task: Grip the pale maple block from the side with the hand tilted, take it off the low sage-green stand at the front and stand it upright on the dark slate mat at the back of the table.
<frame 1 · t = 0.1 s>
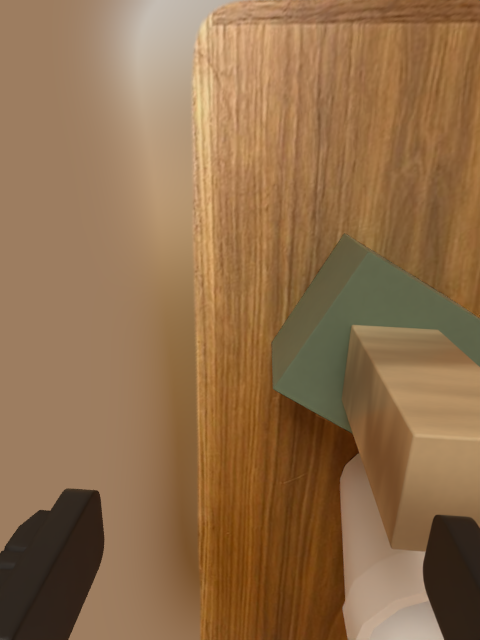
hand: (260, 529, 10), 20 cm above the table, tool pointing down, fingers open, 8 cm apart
foam cup: (379, 479, 34), on the table
block: (388, 365, 23), point 7 cm above the table, touching stand
stand: (360, 323, 29), on the table
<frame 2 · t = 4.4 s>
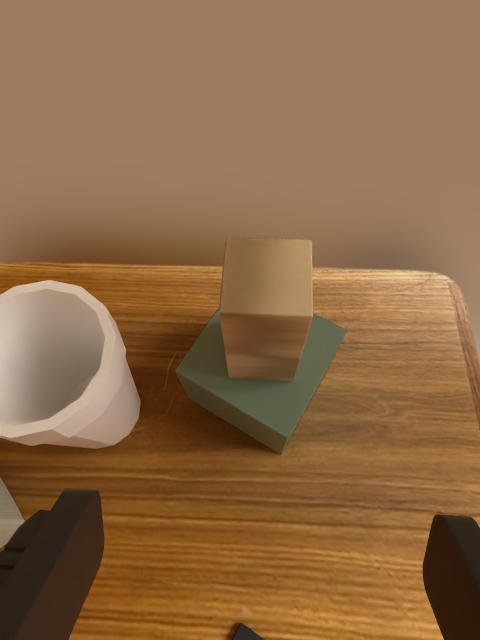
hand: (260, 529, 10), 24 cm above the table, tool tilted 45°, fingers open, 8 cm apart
foam cup: (103, 410, 36), on the table
block: (262, 349, 30), point 7 cm above the table, touching stand
stand: (260, 380, 36), on the table
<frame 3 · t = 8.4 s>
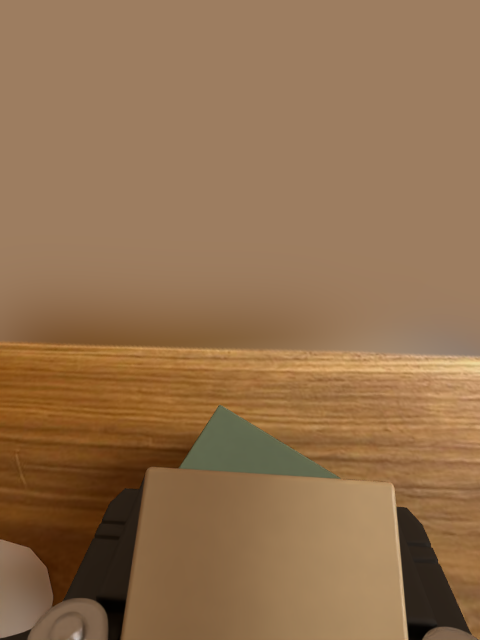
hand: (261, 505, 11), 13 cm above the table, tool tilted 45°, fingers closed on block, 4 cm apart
block: (255, 569, 16), point 7 cm above the table, touching gripper, stand
stand: (254, 557, 22), on the table
when the fingers open (7 cm above the table, at t = 20.2 s): block stays where it is, resting on mat.
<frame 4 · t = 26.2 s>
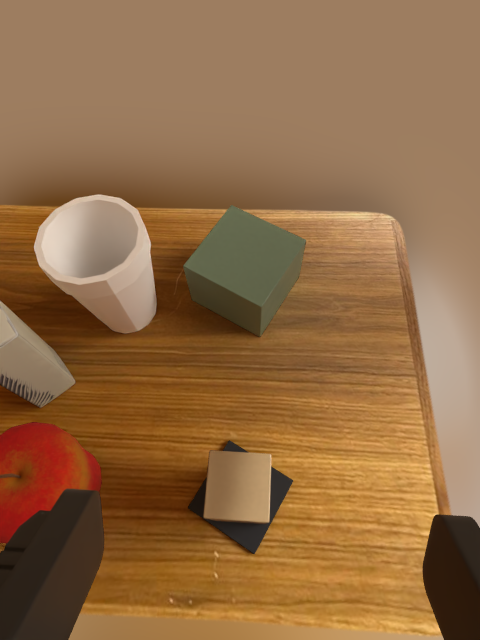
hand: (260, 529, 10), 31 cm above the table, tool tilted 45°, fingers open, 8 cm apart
box: (49, 379, 44), on the table
foam cup: (129, 308, 48), on the table
apple: (69, 488, 40), on the table
mat: (241, 494, 39), on the table
block: (241, 495, 39), resting on mat
stand: (246, 288, 49), on the table
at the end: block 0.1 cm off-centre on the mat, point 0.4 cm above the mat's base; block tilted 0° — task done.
